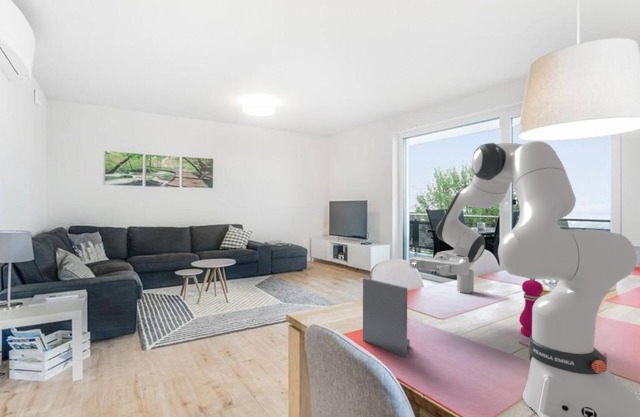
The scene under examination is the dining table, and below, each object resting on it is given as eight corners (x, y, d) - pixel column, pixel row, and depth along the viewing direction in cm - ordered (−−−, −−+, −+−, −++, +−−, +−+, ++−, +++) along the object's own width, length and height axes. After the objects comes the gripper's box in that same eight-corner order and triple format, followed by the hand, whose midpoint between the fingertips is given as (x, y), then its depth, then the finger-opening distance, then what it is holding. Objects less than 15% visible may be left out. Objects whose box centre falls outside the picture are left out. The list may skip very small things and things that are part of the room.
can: (470, 290, 170) (470, 266, 170) (475, 294, 162) (476, 269, 162) (455, 289, 171) (455, 266, 170) (459, 293, 163) (459, 269, 163)
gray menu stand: (419, 349, 102) (419, 284, 101) (404, 357, 97) (404, 288, 96) (378, 333, 114) (378, 275, 113) (362, 340, 109) (362, 278, 108)
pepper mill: (521, 328, 119) (521, 272, 118) (545, 334, 114) (546, 275, 113) (517, 335, 113) (518, 276, 112) (543, 340, 108) (544, 279, 108)
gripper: (421, 251, 132) (399, 255, 123) (473, 257, 116) (453, 262, 107) (421, 267, 132) (399, 272, 123) (473, 275, 116) (453, 281, 107)
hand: (425, 267), depth 115 cm, fingers open, 8 cm apart
